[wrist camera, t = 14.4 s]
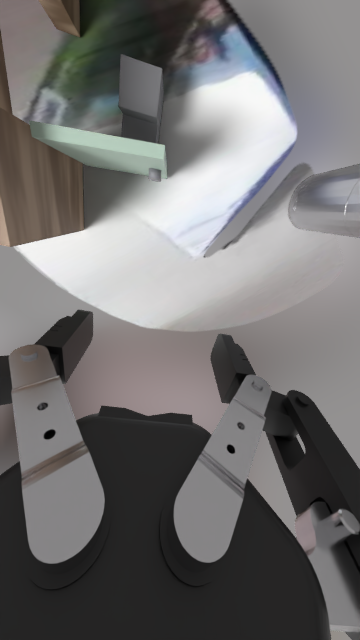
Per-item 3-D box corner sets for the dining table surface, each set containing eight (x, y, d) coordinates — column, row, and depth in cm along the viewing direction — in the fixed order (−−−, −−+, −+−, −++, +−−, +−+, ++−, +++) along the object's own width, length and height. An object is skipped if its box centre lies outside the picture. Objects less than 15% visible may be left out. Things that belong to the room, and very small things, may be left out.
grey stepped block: (164, 95, 30) (162, 68, 24) (155, 167, 34) (151, 159, 28) (130, 84, 29) (120, 54, 23) (126, 159, 33) (116, 149, 27)
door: (166, 186, 35) (163, 173, 22) (88, 174, 33) (34, 151, 20) (167, 170, 34) (164, 145, 20) (86, 156, 32) (28, 120, 19)
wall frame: (79, -12, 24) (-147, -554, 7) (83, 230, 38) (10, 246, 21) (53, -22, 24) (-251, -622, 7) (67, 226, 38) (-22, 240, 20)
